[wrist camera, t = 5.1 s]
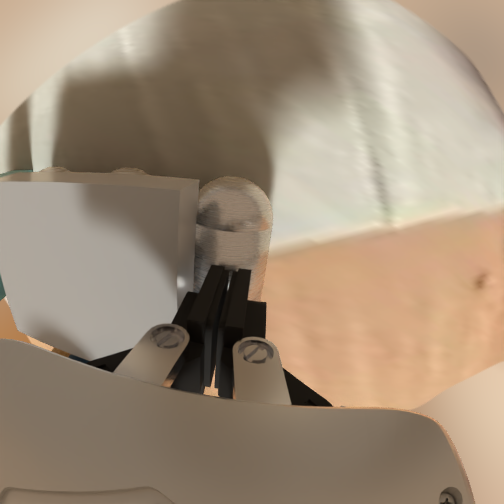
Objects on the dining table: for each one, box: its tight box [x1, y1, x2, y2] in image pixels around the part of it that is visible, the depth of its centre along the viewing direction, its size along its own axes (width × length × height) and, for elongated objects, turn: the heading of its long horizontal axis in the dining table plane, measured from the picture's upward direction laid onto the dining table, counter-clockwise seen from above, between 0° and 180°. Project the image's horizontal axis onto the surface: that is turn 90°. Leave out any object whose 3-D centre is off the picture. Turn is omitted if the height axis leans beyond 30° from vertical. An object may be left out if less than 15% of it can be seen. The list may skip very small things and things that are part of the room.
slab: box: [0, 172, 200, 361], centre depth 12 cm, size 11×9×2 cm
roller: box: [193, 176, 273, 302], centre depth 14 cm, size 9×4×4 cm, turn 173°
